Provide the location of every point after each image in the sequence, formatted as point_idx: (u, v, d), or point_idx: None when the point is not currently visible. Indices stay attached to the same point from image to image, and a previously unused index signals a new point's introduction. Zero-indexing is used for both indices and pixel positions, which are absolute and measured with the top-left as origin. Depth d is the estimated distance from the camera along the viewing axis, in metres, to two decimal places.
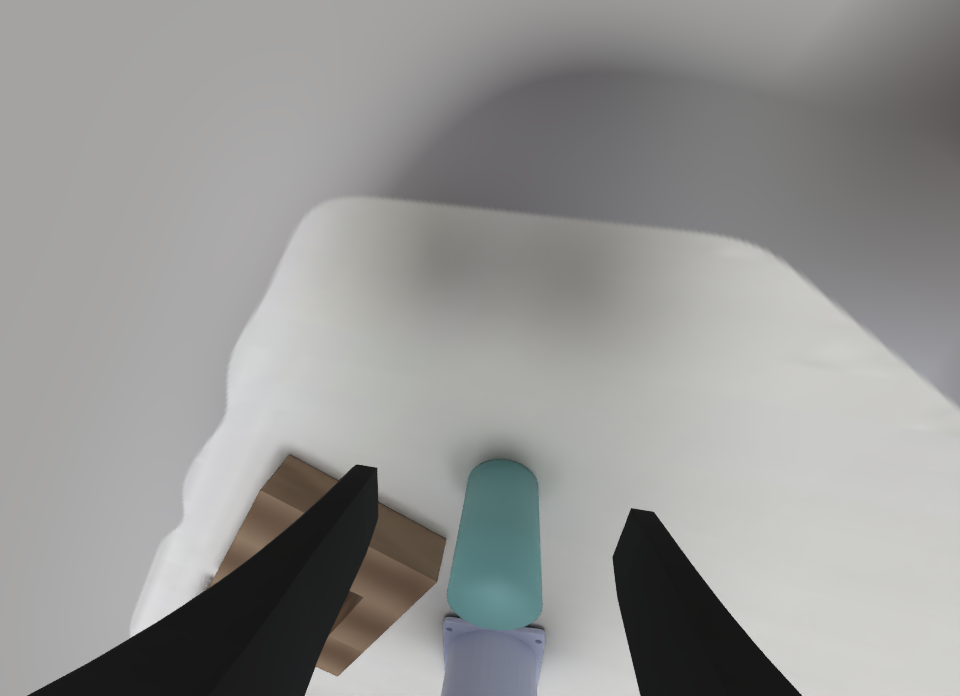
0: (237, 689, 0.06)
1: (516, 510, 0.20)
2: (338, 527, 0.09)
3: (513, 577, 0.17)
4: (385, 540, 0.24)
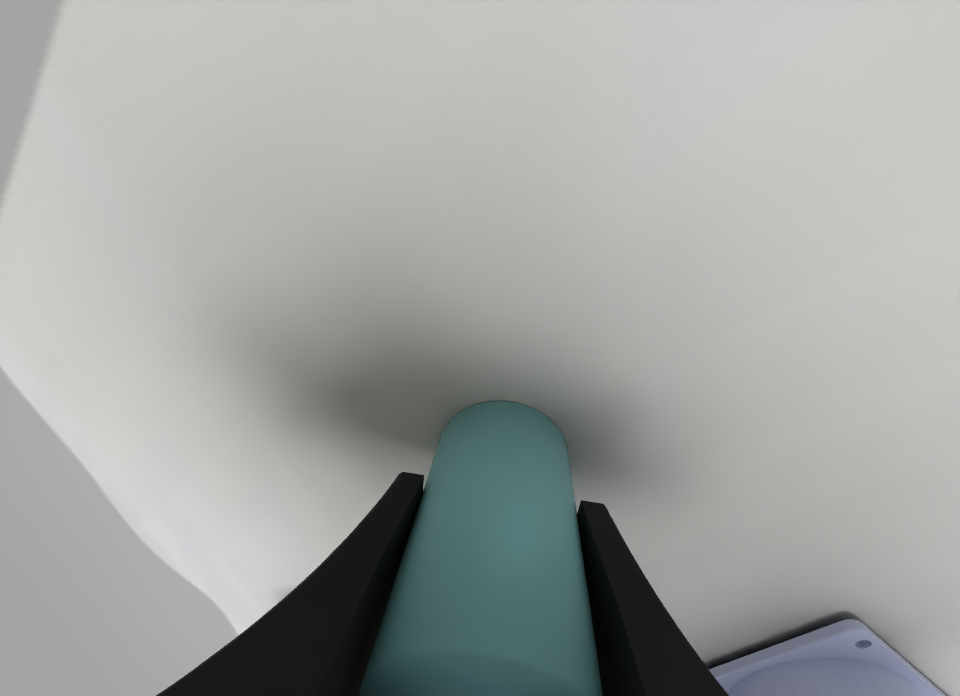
0: None
1: (453, 488, 0.09)
2: (395, 537, 0.08)
3: (420, 658, 0.06)
4: None
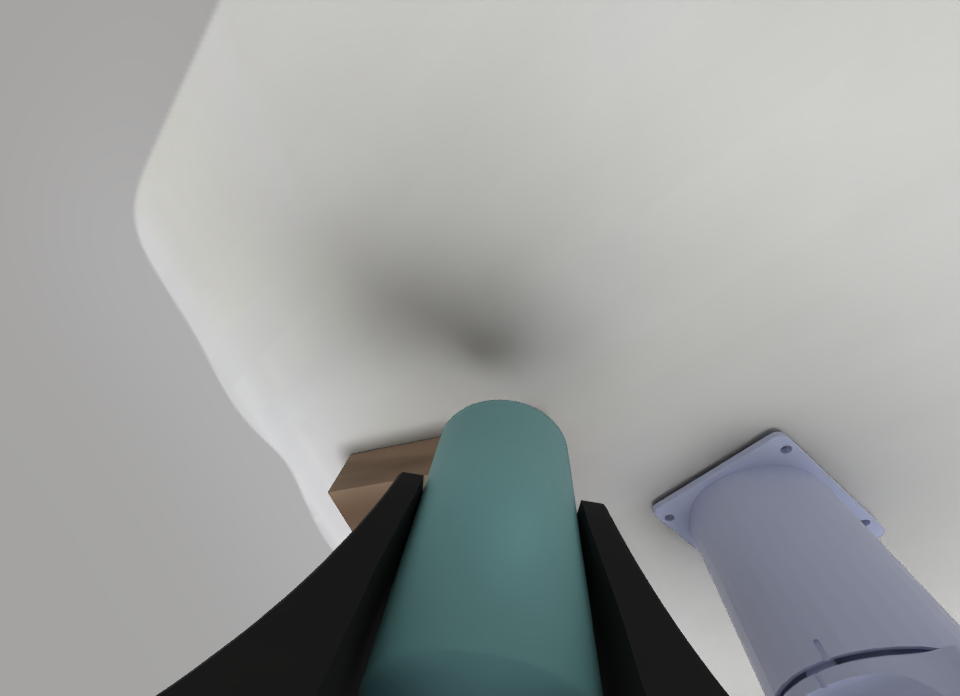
0: None
1: (452, 487, 0.09)
2: (395, 537, 0.08)
3: (419, 656, 0.06)
4: None
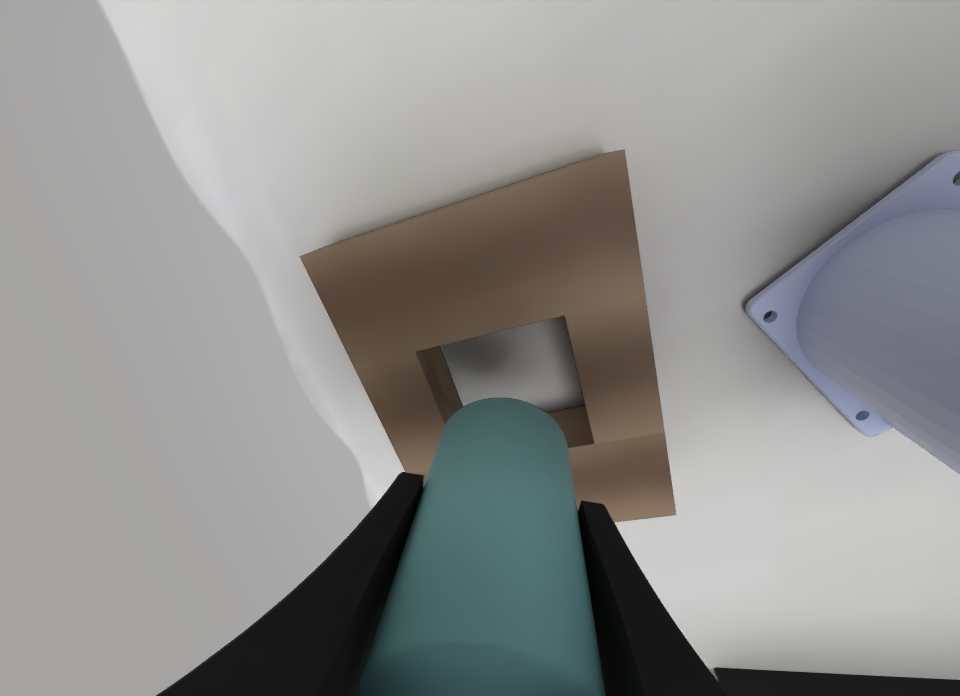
0: None
1: (454, 482, 0.09)
2: (395, 537, 0.08)
3: (421, 648, 0.06)
4: (501, 189, 0.13)
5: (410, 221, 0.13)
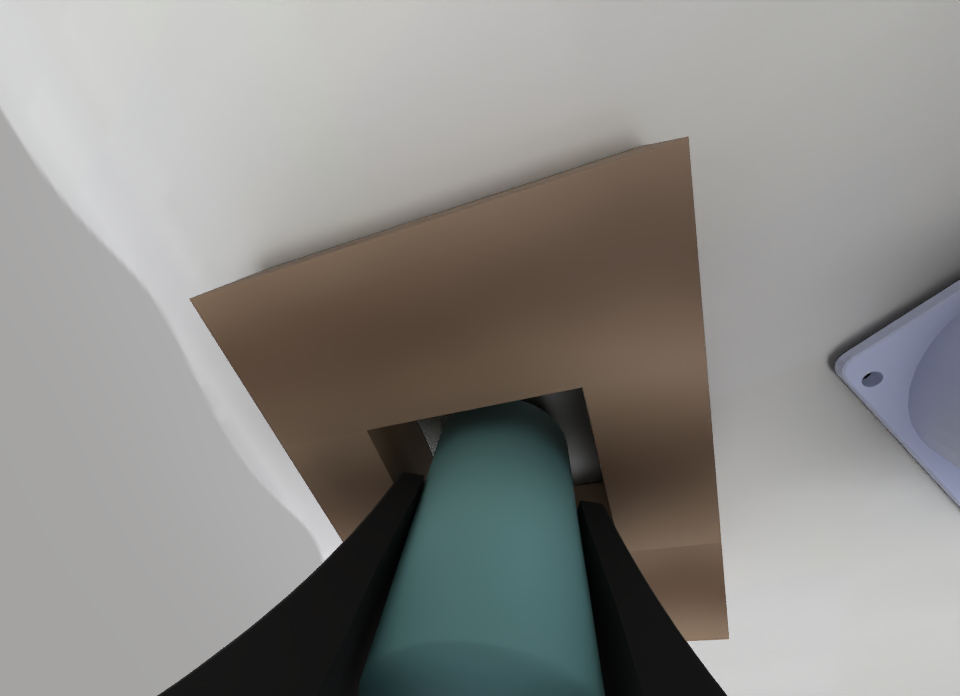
0: None
1: (454, 482, 0.09)
2: (396, 537, 0.08)
3: (421, 648, 0.06)
4: (487, 200, 0.09)
5: (346, 250, 0.09)
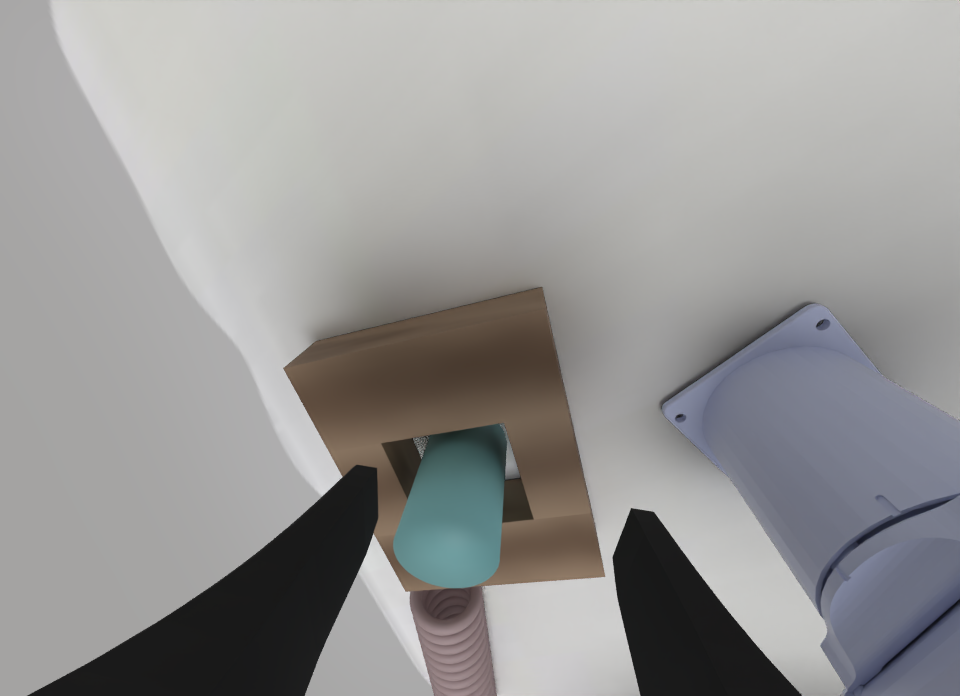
0: (237, 689, 0.06)
1: (437, 456, 0.18)
2: (338, 527, 0.09)
3: (421, 519, 0.15)
4: (451, 323, 0.16)
5: (375, 348, 0.16)
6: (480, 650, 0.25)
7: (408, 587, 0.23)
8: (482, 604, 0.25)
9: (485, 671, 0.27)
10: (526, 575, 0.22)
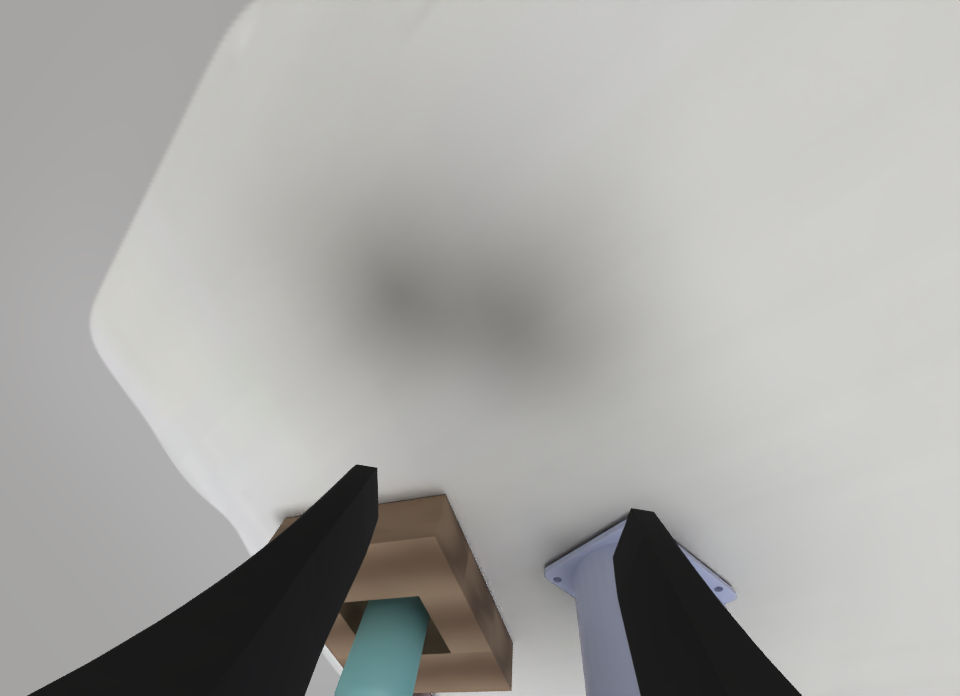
0: (237, 689, 0.06)
1: (372, 616, 0.24)
2: (338, 527, 0.09)
3: (351, 683, 0.21)
4: (376, 531, 0.23)
5: None
6: None
7: None
8: None
9: None
10: (453, 687, 0.28)
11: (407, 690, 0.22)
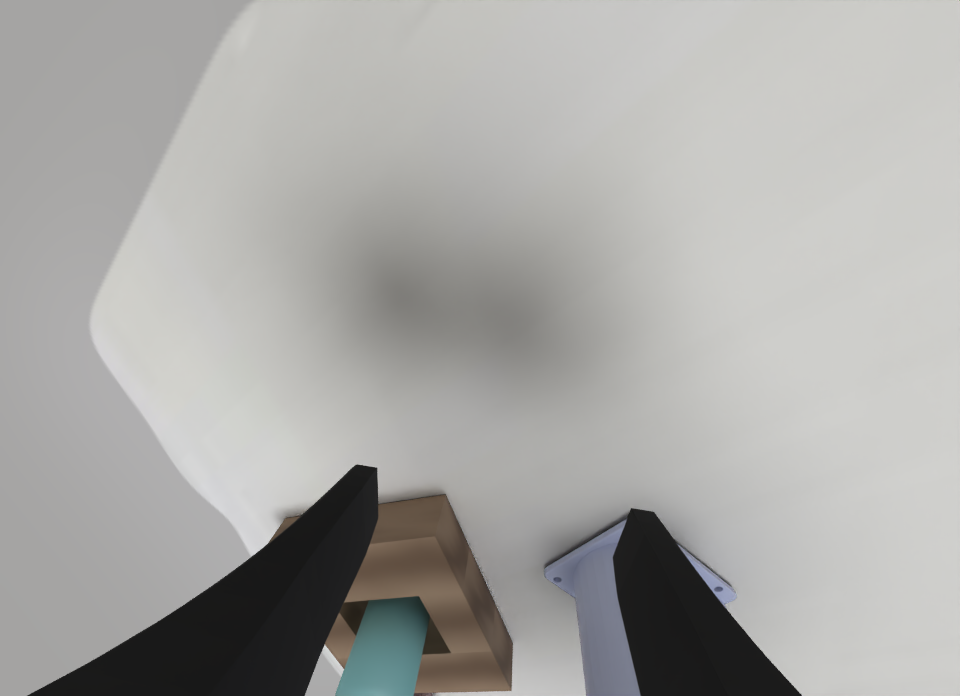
0: (237, 689, 0.06)
1: (373, 617, 0.24)
2: (338, 527, 0.09)
3: (352, 684, 0.21)
4: (376, 531, 0.23)
5: None
6: None
7: None
8: None
9: None
10: (453, 687, 0.28)
11: (408, 691, 0.22)
